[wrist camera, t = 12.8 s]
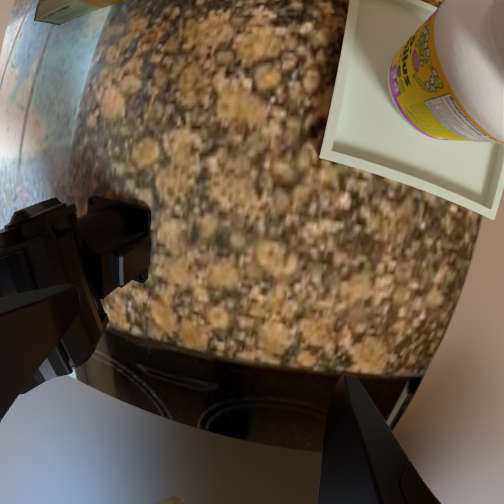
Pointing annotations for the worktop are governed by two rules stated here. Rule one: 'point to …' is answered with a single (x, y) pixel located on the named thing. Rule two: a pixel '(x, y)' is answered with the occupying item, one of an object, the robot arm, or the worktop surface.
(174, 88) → the worktop surface
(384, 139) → the tray
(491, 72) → the supplement bottle
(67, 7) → the medication box
